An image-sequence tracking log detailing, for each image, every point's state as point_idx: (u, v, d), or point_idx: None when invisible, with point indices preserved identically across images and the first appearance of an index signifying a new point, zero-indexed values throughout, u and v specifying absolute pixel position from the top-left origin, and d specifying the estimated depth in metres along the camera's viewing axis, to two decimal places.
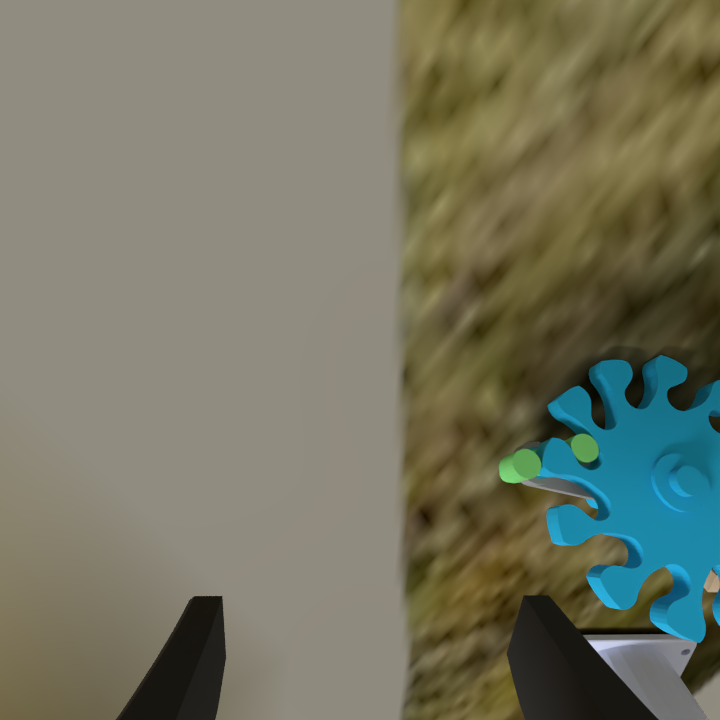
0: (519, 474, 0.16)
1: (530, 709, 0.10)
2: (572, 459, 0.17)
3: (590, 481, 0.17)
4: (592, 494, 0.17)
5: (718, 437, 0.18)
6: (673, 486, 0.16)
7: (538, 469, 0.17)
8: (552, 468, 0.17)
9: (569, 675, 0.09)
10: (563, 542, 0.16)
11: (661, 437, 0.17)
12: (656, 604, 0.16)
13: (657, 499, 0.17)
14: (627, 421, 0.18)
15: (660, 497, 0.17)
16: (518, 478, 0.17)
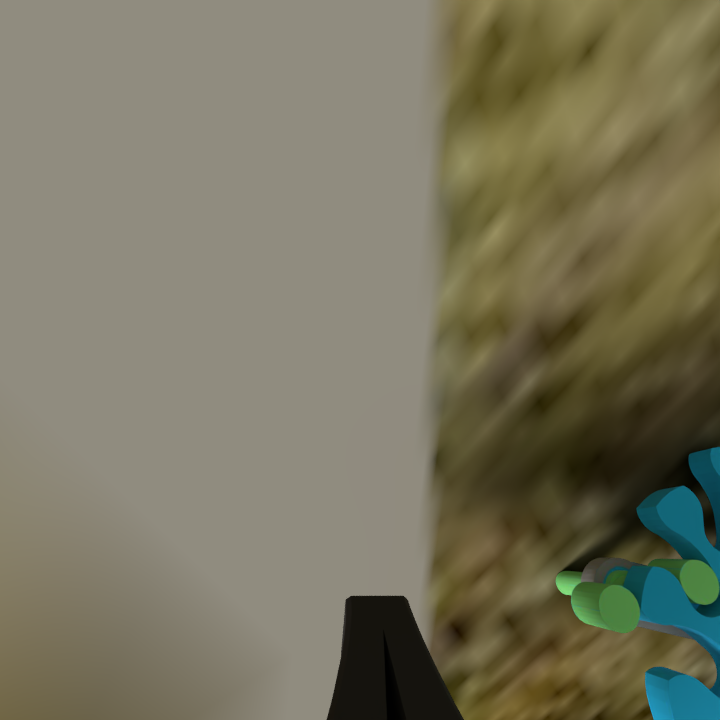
0: (609, 626, 0.11)
1: None
2: (683, 600, 0.12)
3: (711, 636, 0.11)
4: (709, 648, 0.12)
5: None
6: None
7: (636, 617, 0.11)
8: (657, 615, 0.11)
9: (393, 678, 0.09)
10: None
11: None
12: None
13: None
14: None
15: None
16: (605, 628, 0.12)
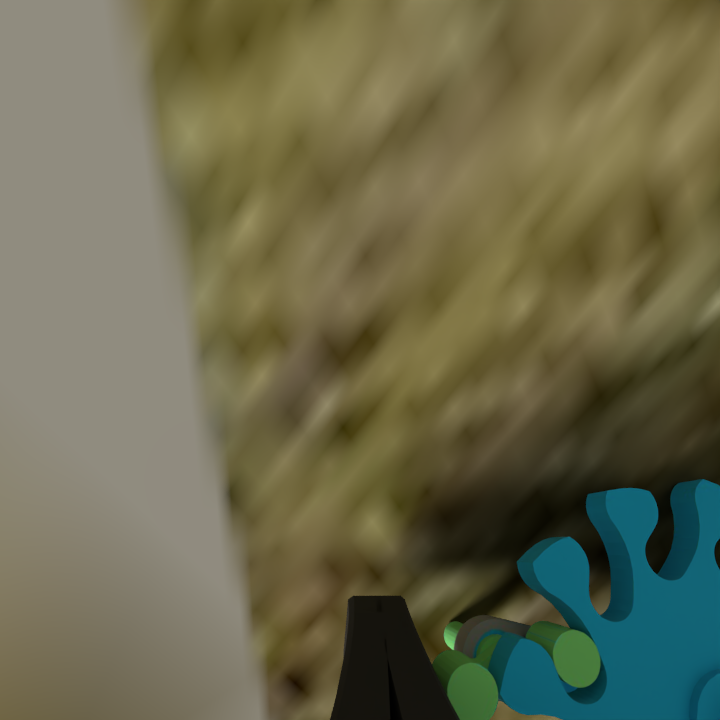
0: None
1: None
2: (554, 682, 0.10)
3: None
4: None
5: None
6: None
7: (493, 705, 0.09)
8: (519, 702, 0.09)
9: (389, 678, 0.09)
10: None
11: (706, 635, 0.10)
12: None
13: None
14: (649, 604, 0.10)
15: None
16: None
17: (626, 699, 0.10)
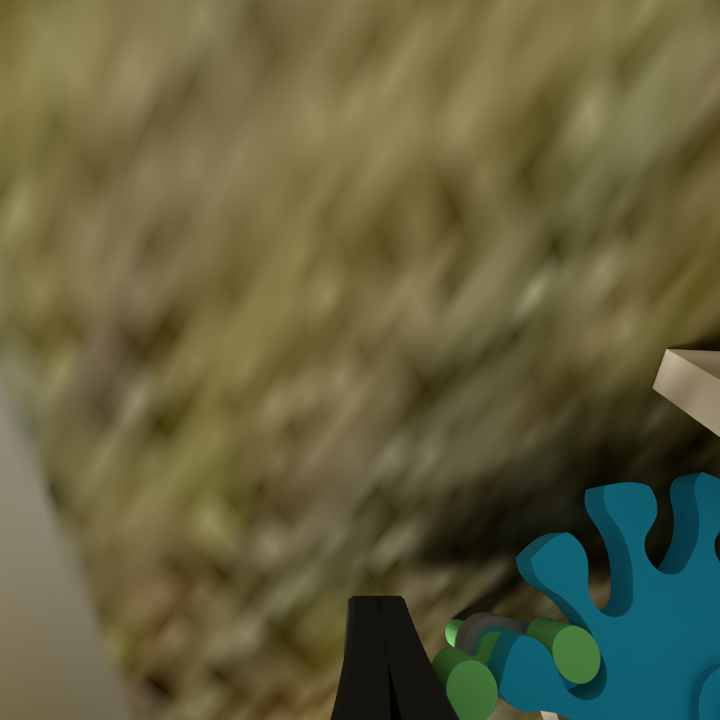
0: (457, 714, 0.09)
1: None
2: (553, 679, 0.10)
3: None
4: None
5: None
6: None
7: (492, 702, 0.09)
8: (518, 698, 0.09)
9: (389, 678, 0.09)
10: None
11: (707, 629, 0.10)
12: None
13: None
14: (649, 598, 0.10)
15: None
16: None
17: (627, 694, 0.10)
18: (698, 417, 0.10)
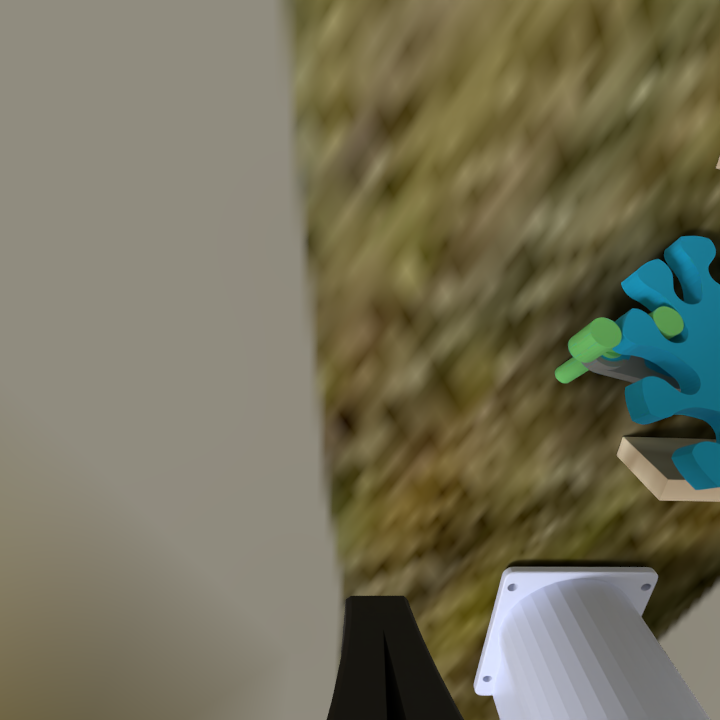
0: (598, 342, 0.15)
1: None
2: (655, 331, 0.15)
3: (676, 354, 0.15)
4: (674, 373, 0.15)
5: None
6: None
7: (618, 339, 0.15)
8: (634, 338, 0.15)
9: (393, 678, 0.09)
10: (649, 415, 0.14)
11: None
12: None
13: None
14: (713, 297, 0.16)
15: None
16: (595, 350, 0.15)
17: (701, 342, 0.15)
18: None
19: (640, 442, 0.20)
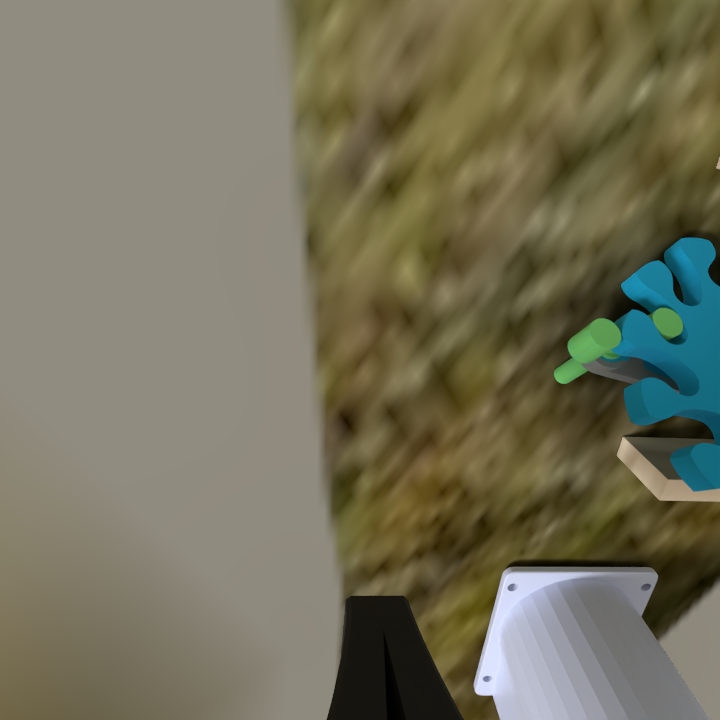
0: (597, 343, 0.15)
1: None
2: (654, 332, 0.15)
3: (675, 356, 0.15)
4: (674, 374, 0.15)
5: None
6: None
7: (618, 340, 0.15)
8: (634, 339, 0.15)
9: (393, 678, 0.09)
10: (648, 416, 0.14)
11: None
12: None
13: None
14: (712, 299, 0.16)
15: None
16: (594, 350, 0.15)
17: (700, 344, 0.15)
18: None
19: (640, 442, 0.20)
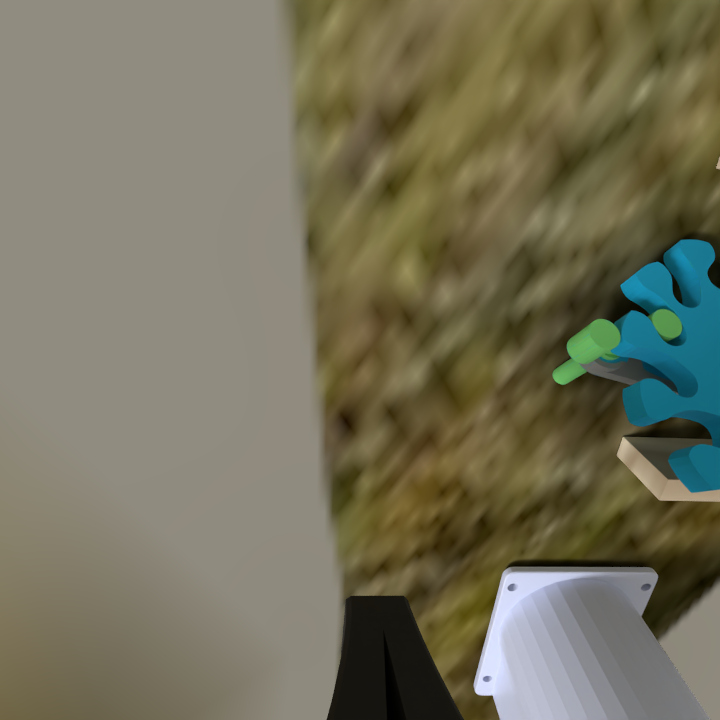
0: (596, 344, 0.15)
1: None
2: (654, 333, 0.15)
3: (674, 357, 0.15)
4: (672, 376, 0.15)
5: None
6: None
7: (617, 340, 0.15)
8: (633, 340, 0.15)
9: (393, 678, 0.09)
10: (646, 417, 0.14)
11: None
12: None
13: None
14: (711, 301, 0.16)
15: None
16: (593, 351, 0.15)
17: (699, 346, 0.15)
18: None
19: (640, 442, 0.20)
